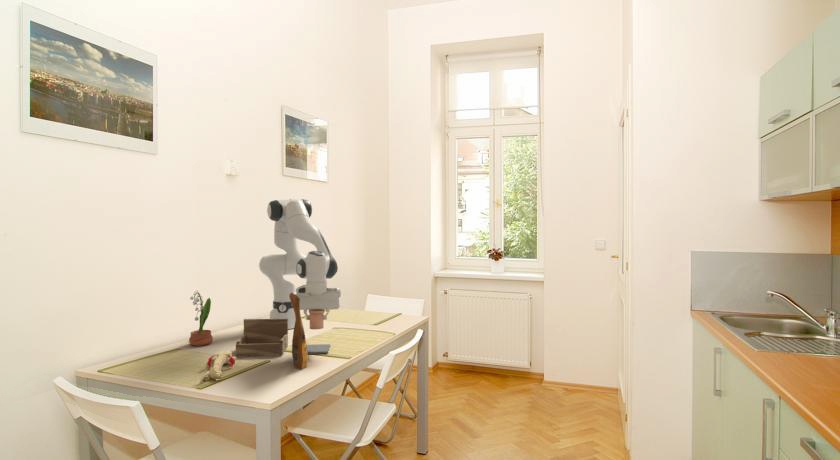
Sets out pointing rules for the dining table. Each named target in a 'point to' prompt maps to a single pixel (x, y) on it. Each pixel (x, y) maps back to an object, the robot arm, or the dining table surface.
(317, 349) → the rubber mat
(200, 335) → the potted flower
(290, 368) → the dining table surface
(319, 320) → the terracotta pot
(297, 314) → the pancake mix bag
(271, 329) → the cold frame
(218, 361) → the cream toy figurine
